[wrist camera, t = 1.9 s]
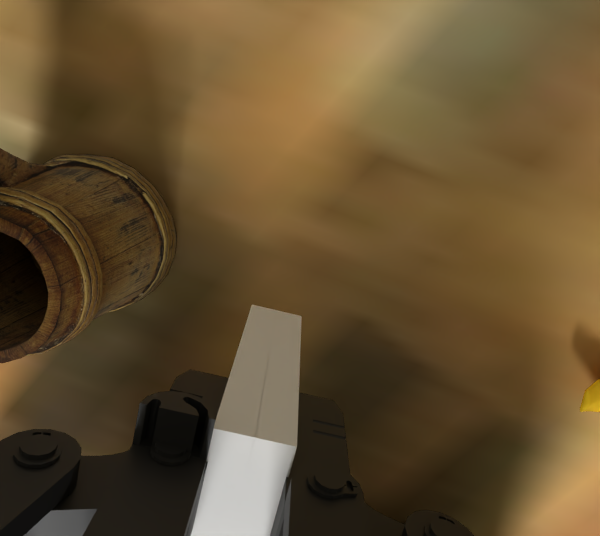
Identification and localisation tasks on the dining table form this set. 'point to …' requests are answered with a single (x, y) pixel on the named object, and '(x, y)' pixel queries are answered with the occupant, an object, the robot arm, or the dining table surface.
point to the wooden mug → (75, 247)
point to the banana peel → (591, 398)
